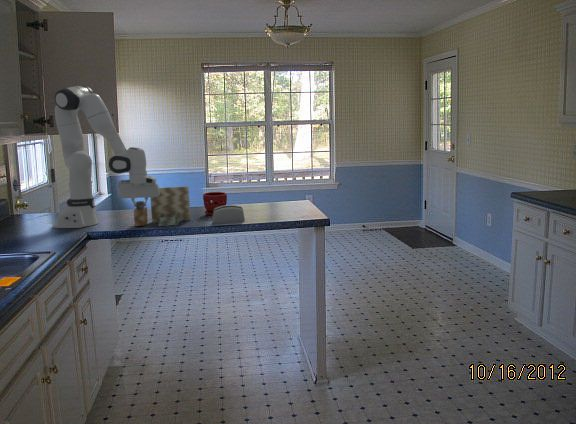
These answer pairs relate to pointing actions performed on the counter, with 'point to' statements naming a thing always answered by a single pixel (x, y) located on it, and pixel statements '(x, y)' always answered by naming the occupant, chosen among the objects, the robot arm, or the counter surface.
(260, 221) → the counter surface
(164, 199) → the patterned box
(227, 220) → the grey arched block
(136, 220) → the brown bottle
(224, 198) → the plant pot
